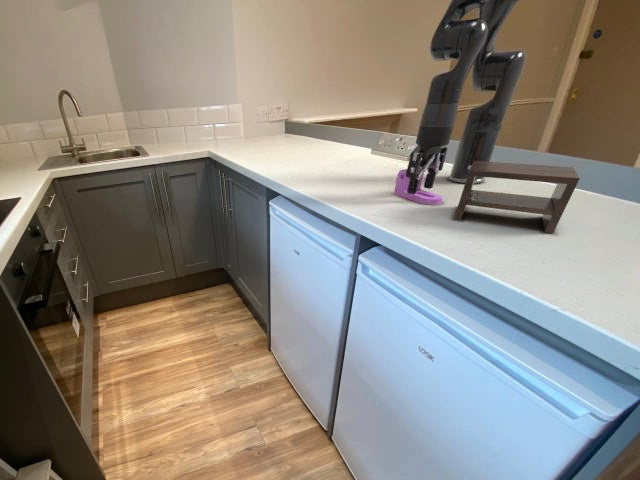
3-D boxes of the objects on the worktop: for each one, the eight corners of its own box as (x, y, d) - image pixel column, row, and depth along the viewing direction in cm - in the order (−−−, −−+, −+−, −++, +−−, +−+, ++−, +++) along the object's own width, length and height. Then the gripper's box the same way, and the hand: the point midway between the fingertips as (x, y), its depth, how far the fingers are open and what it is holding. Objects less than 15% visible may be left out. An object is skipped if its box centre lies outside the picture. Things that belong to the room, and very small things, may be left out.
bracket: (393, 193, 98) (398, 168, 94) (409, 191, 99) (414, 166, 95) (429, 205, 87) (436, 178, 84) (446, 203, 89) (454, 175, 85)
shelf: (459, 206, 86) (474, 160, 80) (549, 218, 77) (573, 167, 71) (453, 219, 78) (469, 169, 72) (553, 233, 69) (580, 178, 64)
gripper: (437, 127, 77) (419, 198, 86) (465, 122, 84) (446, 188, 93) (406, 125, 82) (392, 192, 91) (435, 121, 90) (420, 184, 98)
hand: (419, 190), depth 92 cm, fingers open, 8 cm apart
